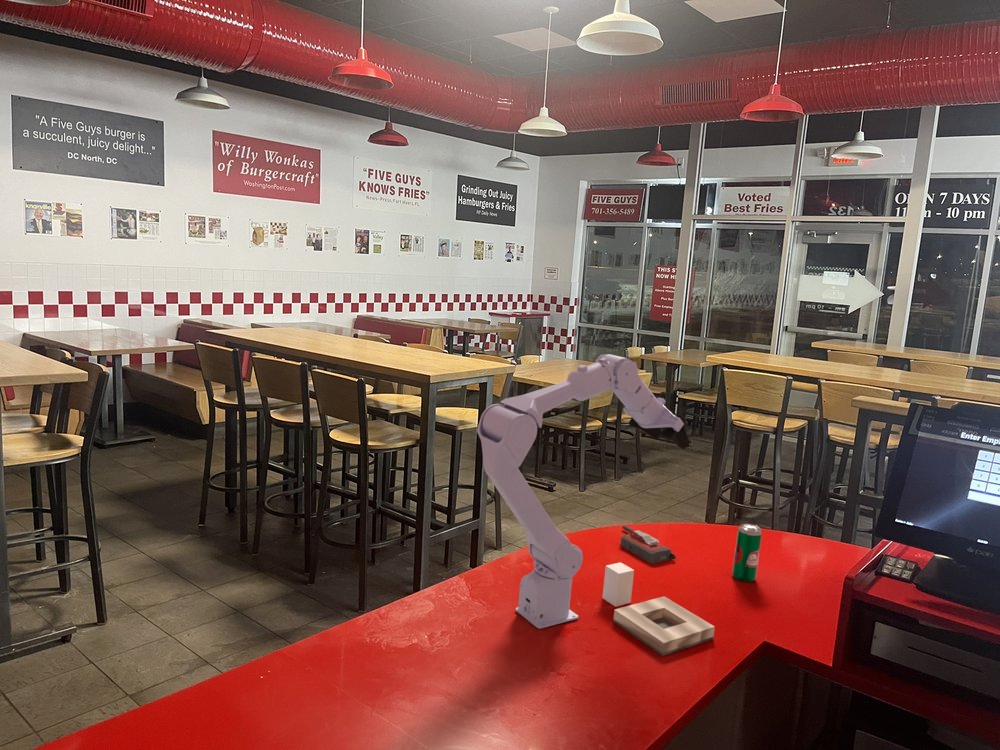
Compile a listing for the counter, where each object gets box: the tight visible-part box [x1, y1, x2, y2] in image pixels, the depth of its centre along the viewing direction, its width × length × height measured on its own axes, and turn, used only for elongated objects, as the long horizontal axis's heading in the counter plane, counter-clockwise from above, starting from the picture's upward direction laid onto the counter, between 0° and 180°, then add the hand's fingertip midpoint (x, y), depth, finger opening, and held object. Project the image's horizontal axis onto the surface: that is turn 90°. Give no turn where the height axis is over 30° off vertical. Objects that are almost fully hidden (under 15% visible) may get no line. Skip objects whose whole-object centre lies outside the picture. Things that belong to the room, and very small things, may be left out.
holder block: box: [613, 596, 715, 657], centre depth 135 cm, size 13×13×2 cm
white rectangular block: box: [602, 561, 635, 607], centre depth 145 cm, size 4×4×7 cm
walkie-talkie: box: [620, 525, 676, 564], centre depth 174 cm, size 9×4×20 cm
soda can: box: [731, 523, 763, 583], centre depth 160 cm, size 5×5×12 cm
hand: (671, 440), depth 148 cm, fingers open, 7 cm apart
